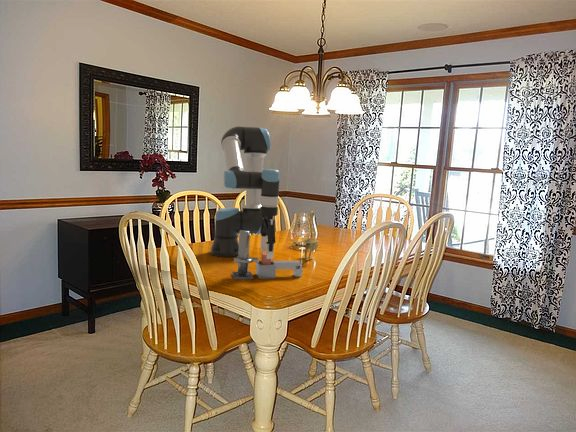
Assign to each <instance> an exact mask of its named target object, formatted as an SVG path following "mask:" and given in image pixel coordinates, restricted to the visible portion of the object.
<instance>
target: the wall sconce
mask: <svg viewBox="0 0 576 432" xmlns="http://www.w3.org/2000/svg"><path fill="white" fill-rule="evenodd" d="M308 217H309V218H308V220H309V230H310V231H309V232H310V237H309V238H307V237H306V238H304V237H303V238H299V239H298V242H300V243H303V244H305V246H304V247H305V248H304V259H305V261H307V262H308V261H309V260H310V258H311V256H312V252H313V251H316V250H317V249H318V248H319V240H317V238H314V236H313V226H312V225H313V224H312V219H314V217H315V212H314V210H311V211H310V214H309V216H308ZM308 252H309V254H308ZM307 254H308V257H307Z"/></svg>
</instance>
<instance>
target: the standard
mask: <svg viewBox="0 0 576 432" xmlns="http://www.w3.org/2000/svg"><path fill="white" fill-rule="evenodd" d="M250 238H251V234H250V231H248V230H240V231H239V234H238V243H239V253H238V256H234V257H233V262H234V263H237V271H232V273H231V274H232V277H233V279H234V281H235V280H254V275H253V273H252V271H249V264H251V263H253V262H255V263H256V262H259V261H260V260H259V258H258V257H251V256H250V254H249V253H250Z"/></svg>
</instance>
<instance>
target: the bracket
mask: <svg viewBox="0 0 576 432" xmlns="http://www.w3.org/2000/svg"><path fill="white" fill-rule="evenodd" d="M255 263H256V264H255V265H256V266H255V275H256V277H257V278H258V280H266V279H267V280H270V279H271V280H273V279H274V280H275V279H276V275H277V274H276V273H277V270H293V274H292V275H293V276H294V277H295V278H299V277H300V278H301V277H302V276H303V265H302V264H301V261H300V260H271V265H261V260H259V262H255Z"/></svg>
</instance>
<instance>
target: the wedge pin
mask: <svg viewBox="0 0 576 432" xmlns="http://www.w3.org/2000/svg"><path fill="white" fill-rule="evenodd" d="M260 261H261V265H271V261H272V259H267V252H261V259H260Z"/></svg>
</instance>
